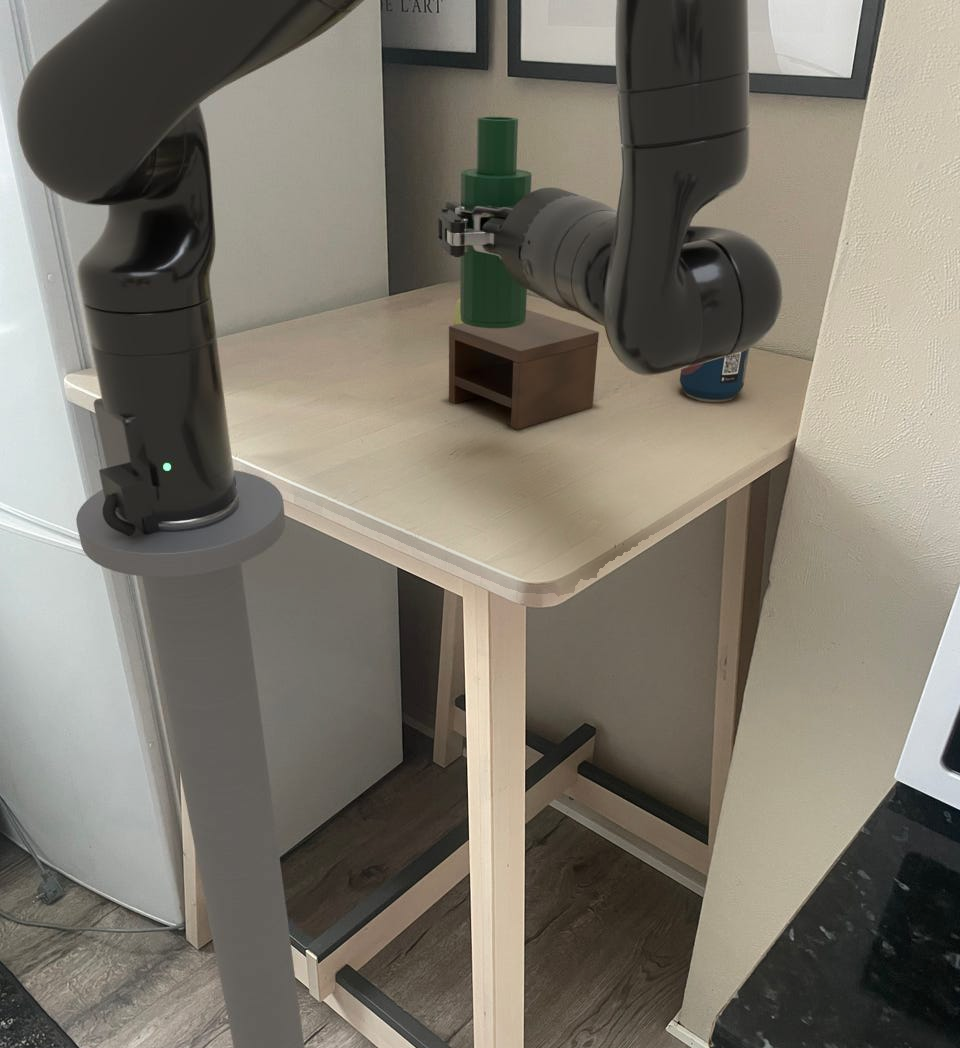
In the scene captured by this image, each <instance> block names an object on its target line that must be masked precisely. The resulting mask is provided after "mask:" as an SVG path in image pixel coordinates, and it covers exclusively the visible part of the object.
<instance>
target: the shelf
mask: <svg viewBox="0 0 960 1048" xmlns="http://www.w3.org/2000/svg"><path fill="white" fill-rule="evenodd" d="M599 336H600V332H599V331H597V330H593V329H590V328H587V327H584V326H580V325H577V324H574V323H571V322H567V321H564V320H561V319H558V318H554V317H553V316H552V317H551V316H549V315H545V314H542V313H539V312H536V311H533V310H528V309H526V318H525V322H524V323H523V324H521V325H519V326H515V327H510V328H480V327H474V326H470V325H467V324H465V323H462V324H457V325H454V324H453V325H449V326H448V401H449V402H451V403H453V404H457V403H460V402H464V401H468V400H473V399H475V398H480V397H482V398H485V399H488V400H490V401H493V402H495V403H497V404H500V405H502V406H505V407H508V408H510V409H511V410H510V411H511V412H510V413H511V414H510V416H511V417H510V428H512V429H514V430H516V431H518V430H522V429H525V428H528V427H532V426H535V425H538V424H541V423H544V422H548V421H551V420H554V419H558V418H561V417H564V416H565V417H566V416H568V415H572V414H574V413H578V412H580V411H584V410H587V409H591V408H593V407H594V395H595V383H596V370H597V359H598V358H597V357H598V348H599V347H598V346H599V338H600V337H599Z"/></svg>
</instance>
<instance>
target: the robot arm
mask: <svg viewBox="0 0 960 1048" xmlns="http://www.w3.org/2000/svg"><path fill="white" fill-rule="evenodd" d="M364 1H365V0H106V1H105V2H104V3H103V4H101V5H100V6H99V7H98V8H96V10H94V11H93V12H92V13H91V14H90V15H89V16H88V17H86V18H85V19H84V20H83V21H82V22H81V23H80V24H79V25H77V26H76V27H75V28H73V29H72V30H71V31H70V32H69V33H68V34H66V35H65V36H64V37H63V38H62V39H60V40H59V41H58V42H57V43H55V44H54V46H52V47H51V48H50V49H49V50H48V51H46V52H45V53H44V54H43V55H42V56H41V57H40V58H39V60H37V62H36V63H35V64H34V65H33V67H32V68H31V69H30V71H29V73H28V74H27V76H26V78H25V81H24V83H23V86H22V88H21V92H20V95H19V98H18V99H19V100H18V105H17V115H16V117H17V118H16V127H17V134H18V140H19V145H20V148H21V150H22V154H23V157H24V159H25V162H26V163H27V165H28V166H29V168H30V170H31V172H32V174H33V175H34V176H36V178H37V179H38V181H39V182H41V183H42V184H43V185H44V186H45V187H46V188H47V189H49V190H50V192H53V193H55V194H56V195H57V196H60V197H61V198H63V199H66V200H67V201H70V202H74V203H77V204H81V205H87V206H96V207H97V206H107V207H108V211H107V212H108V213H107V220H106V223H105V225H104V228H103V231H102V232H101V235H100V236H99V238H98V239H97V241H96V242H95V243H94V244H93V245H92V246H91V248H90V249H89V250H88V251H87V252H86V253H85V254H83V256H82V258H81V259H80V261H79V262H78V265H77V280H78V285H79V292H80V295H81V296H80V297H81V300H82V305H83V310H84V316H85V320H86V326H87V332H88V335H89V336H88V337H89V341H90V346H91V351H92V357H93V361H94V362H93V363H94V367H95V372H96V378H97V381H98V387H99V391H100V398H96V399H95V400H94V401H93V409H94V413H95V418H96V423H97V428H98V433H99V437H100V443H101V447H102V452H103V457H104V458H103V459H104V462H105V467H104V468H101V469H99V470H98V472H99V477H100V482H101V487H102V490H103V492H104V497H105V502H104V505H103V517H104V519H105V521H106V523H107V524H108V525H109V526H110V527H111V528H113V529H114V530H116V531H119V532H121V533H123V534H125V535H127V536H131V535H132V534H133V533H134V532H135V530H136V528H137V529H139V530H140V531H141V532H142V533H144V534H145V535H148V534H152V533H156V532H163V531H185V530H192V529H198V528H202V527H206V526H209V525H212V524H215V523H217V522H220V521H222V520H224V519H226V518H227V517H229V516H230V515H231V514H233V513H234V512H235V511H236V509H237V508H238V505H239V499H238V491H237V489H236V480H235V476H234V470H235V469H234V462H233V456H232V447H231V440H230V431H229V424H228V416H227V415H228V414H227V409H226V408H227V407H226V402H225V393H224V385H223V376H222V370H221V369H222V368H221V361H220V355H219V353H220V352H219V346H218V345H219V344H218V339H217V329H216V322H215V314H214V307H213V306H214V305H213V297H212V289H211V280H210V277H211V276H210V275H211V268H212V264H213V262H214V258H215V253H216V226H215V225H216V224H215V211H214V210H215V209H214V199H213V198H214V196H213V186H212V185H213V184H212V183H213V182H212V171H211V160H210V149H209V141H208V133H207V129H206V124H205V119H204V115H203V111H202V108H201V105H200V104H201V103H203V102H204V101H205V100H206V99H208V98H209V97H210V96H212V95H214V94H215V93H217V92H218V91H221V89H223V88H224V87H227V86H229V85H231V84H232V83H234V82H236V81H238V80H240V79H243V78H244V77H245V76H247V75H250V74H252V73H253V72H256V71H258V70H260V69H261V68H264V67H266V66H267V65H270V64H272V63H274V62H276V61H277V60H279V59H281V58H282V57H284V56H286V55H288V54H290V53H292V52H294V51H296V50H297V49H299V48H301V47H303V46H305V45H307V44H308V43H310V42H311V41H312V40H315V39H317V37H319V36H321V35H323V34H324V33H325V32H327V31H329V30H330V29H331V28H332V27H334V26H336V24H338V23H339V22H340V21H342V20H343V19H344V18H346V17H347V16H348V15H349V14H351V13H352V12H353V11H354V10H355V9H357V7H358V6H360V5H361V4H362V3H363V2H364ZM748 3H749V2H748V0H616V4H615V5H616V7H615V8H616V9H615V33H614V34H615V39H614V40H615V41H614V42H615V75H616V91H617V107H618V108H617V109H618V123H619V136H620V144H621V147H620V149H621V150H620V151H621V162H622V163H621V164H622V166H621V167H622V170H621V182H620V189H619V196H618V201H617V208H616V209H617V210H616V209H614V207H613V208H612V206H609V205H607V204H605V203H603V202H600V201H597V200H595V199H592V198H589V197H587V196H583V195H580V194H577V193H574V192H571V191H568V190H565V189H563V188H560V187H559V188H558V187H543V188H538V189H535V190H533V191H531V193H529V194H528V195H526V196H525V197H523V198H522V199H521V200H520V201H519V202H518V203H517V204H516V205H515V206H514V205H513V206H507V207H499V206H494V205H481V206H476V207H475V208H474V209H472V208H468V207H466V206H463V205H461V203H458V202H456V201H447V202H446V203H445V207H442V208H441V209H438V210H436V217H437V235H436V237H437V238H436V239H437V241H436V242H437V244H438V245H439V246H440V247H441V248H442V249H443V250H444V251H445V252H447V254H448V255H449V256H453V257H454V258H461V256H464V255H465V252H467V251H468V245H473V248H474V249H475V250H476V251H478V252H483V253H488V254H493V255H497V256H499V258H500V259H502V261H503V263H504V265H505V267H506V269H507V271H508V272H509V274H510V275H511V276H512V278H513V279H514V280H515V281H516V282H517V283H519V284H520V285H521V286H523V287H525V288H526V289H527V291H530V292H532V293H534V294H536V295H537V296H539V297H541V298H542V299H545V300H546V301H548V302H550V303H552V304H554V305H555V306H558V307H559V308H562V309H565V310H567V311H571V312H575V313H578V314H580V315H582V316H583V317H585V318H586V319H589V320H590V321H592V322H594V323H597V324H599V325H600V326H604V331H605V334H606V338H607V340H608V343H609V346H610V347H611V350H612V352H613V353H614V355H615V357H616V358H617V359H618V361H619V362H620V363H621V364H622V365H623V366H624V367H625V368H627V370H629V371H631V372H632V373H634V374H635V375H639V376H642V377H655V376H656V377H657V376H662V375H666V374H670V373H673V372H677V371H681V369H684V368H686V367H690V366H694V365H697V364H701V363H705V362H708V361H712V360H715V359H719V358H722V357H726V356H730V355H733V354H737V353H739V352H743V351H745V350H747V349H749V350H750V349H751V348H753V347H755V346H756V345H757V344H759V343H760V342H762V341H763V340H764V339H765V338H766V337H767V336H768V335H769V334H770V333H771V331H772V329H774V327H775V325H776V323H777V321H778V319H779V316H780V313H781V310H782V304H783V296H784V295H783V294H784V293H783V292H784V291H783V283H782V278H781V275H780V272H779V269H778V267H777V265H776V262H775V261H774V259H773V258H772V256H771V255H770V254H769V252H768V251H767V250H766V249H765V248H764V247H763V246H762V244H760V243H759V242H757V240H755V239H754V238H752V237H750V236H748V235H747V234H744V233H743V232H740V231H737V230H733V229H730V228H726V227H725V228H724V227H719V226H708V225H707V226H705V225H703V226H702V225H691V223H692V221H693V219H694V217H695V216H696V214H698V213H699V211H700V210H702V209H703V208H704V207H705V206H707V205H709V204H711V203H712V202H713V201H715V200H717V199H719V198H720V197H722V196H724V195H726V194H728V193H729V192H731V191H733V190H734V189H735V188H737V187H738V186H739V185H740V184H741V183H742V182H743V180H744V179H745V177H746V175H747V172H748V168H749V163H750V147H751V146H750V144H751V142H750V139H751V138H750V137H751V136H750V126H749V125H750V71H749V70H750V49H749V47H750V46H749V45H750V44H749V41H750V40H749V5H748ZM491 215H492V216H495V217H493V218H492V219H490V216H491ZM470 218H472V219H473V221H474V230H473V229H471V228H470ZM115 511H116V512H117V513H118V514H119V515H121V516H122V517H123V518H124V519H125V520H127V521H128V522H129V523H128V522H126V521H123V520H121V519H120V518H118V517H117V515H116V513H115ZM130 523H131V524H130ZM132 524H133V525H132Z"/></svg>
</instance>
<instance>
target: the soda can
mask: <svg viewBox="0 0 960 1048" xmlns="http://www.w3.org/2000/svg"><path fill="white" fill-rule="evenodd" d="M749 354H750V348H749V349H747V350H745V351H743V352H739V353H737V354H733V355H730V356H726V357H722V358H719V359H715V360H712V361H708V362H705V363H701V364H697V365H694V366H690V367H686V368H684V369H680V375H679V384H680V385H681V389H682V390H683V392H684V394H685V396H687V397H688V398H690V399H692V400H695V401H700V402H704V403H724V402H725V403H726V402H729V401H733V400H734V399H735V398H736V397H737V396H738V394H739V393H740V392H741V390H742V389H743V387H744V384H745V379H746V372H747V365H748V360H749Z"/></svg>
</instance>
